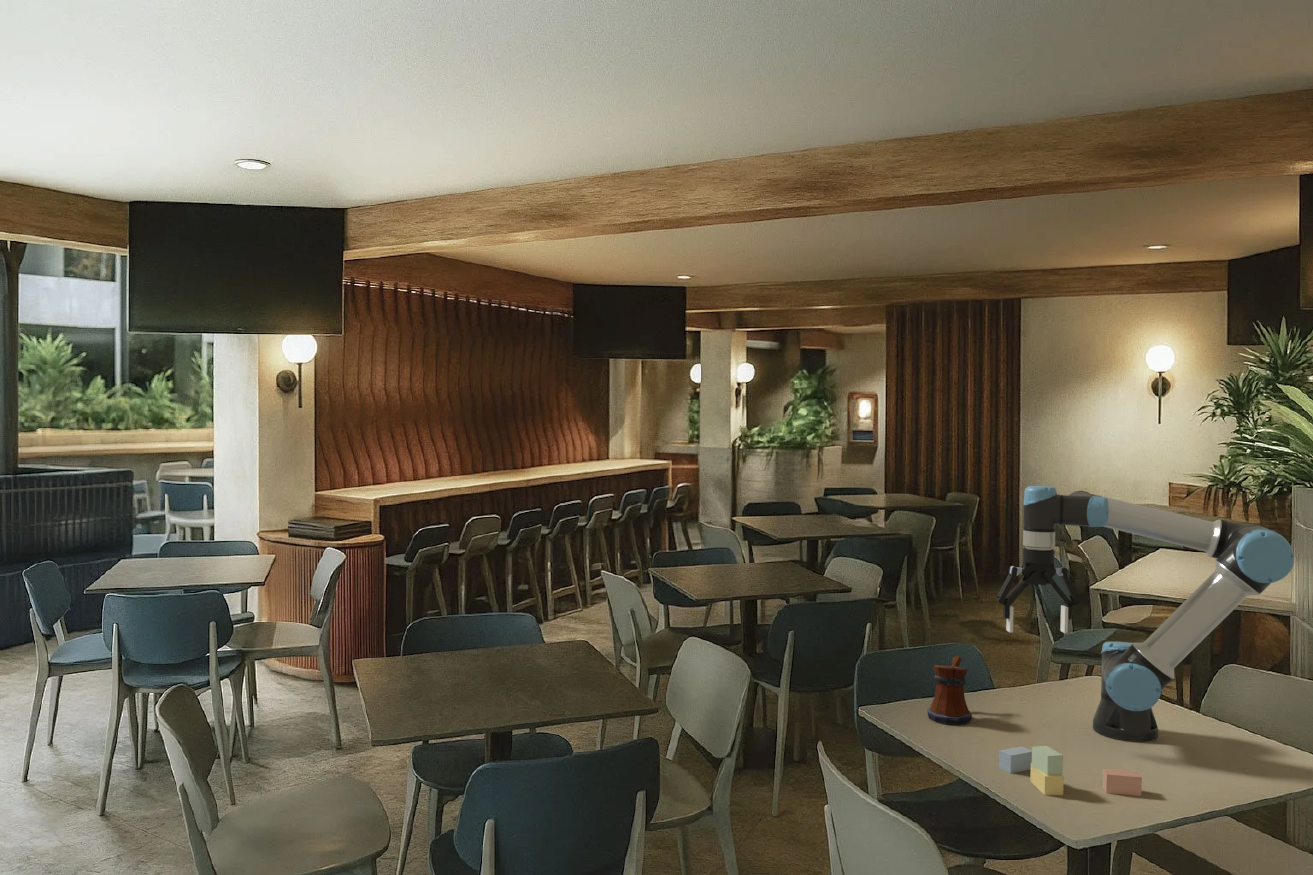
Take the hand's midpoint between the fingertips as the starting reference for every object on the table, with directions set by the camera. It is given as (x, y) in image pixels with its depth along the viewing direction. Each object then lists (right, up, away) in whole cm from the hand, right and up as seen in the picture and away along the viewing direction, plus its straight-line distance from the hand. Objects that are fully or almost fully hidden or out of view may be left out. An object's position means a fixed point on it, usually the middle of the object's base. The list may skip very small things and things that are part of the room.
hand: (1036, 631), depth 251 cm
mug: (-16, -26, +18) cm, 36 cm away
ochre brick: (-10, -28, -33) cm, 44 cm away
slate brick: (-13, -27, -21) cm, 37 cm away
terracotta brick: (+5, -28, -34) cm, 45 cm away
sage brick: (-10, -24, -33) cm, 42 cm away
